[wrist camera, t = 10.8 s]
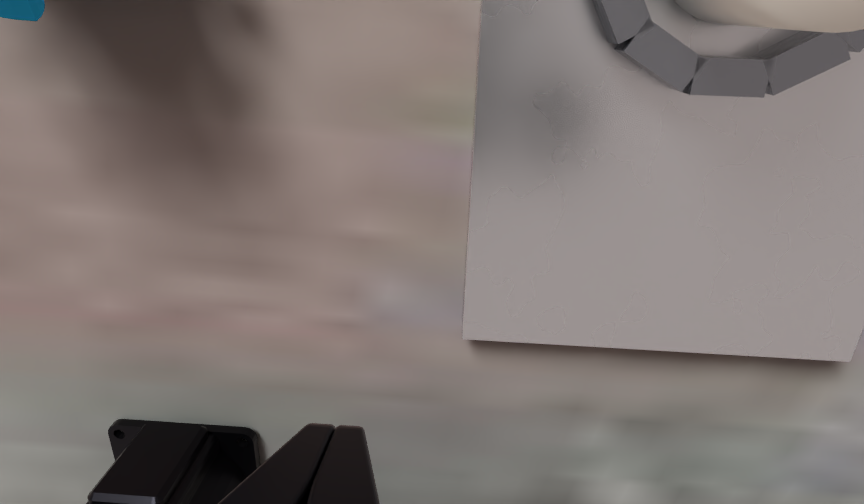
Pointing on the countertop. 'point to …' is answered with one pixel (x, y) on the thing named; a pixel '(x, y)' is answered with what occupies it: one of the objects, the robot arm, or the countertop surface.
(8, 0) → the gear
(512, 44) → the hub plate
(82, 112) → the countertop surface
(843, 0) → the knob
